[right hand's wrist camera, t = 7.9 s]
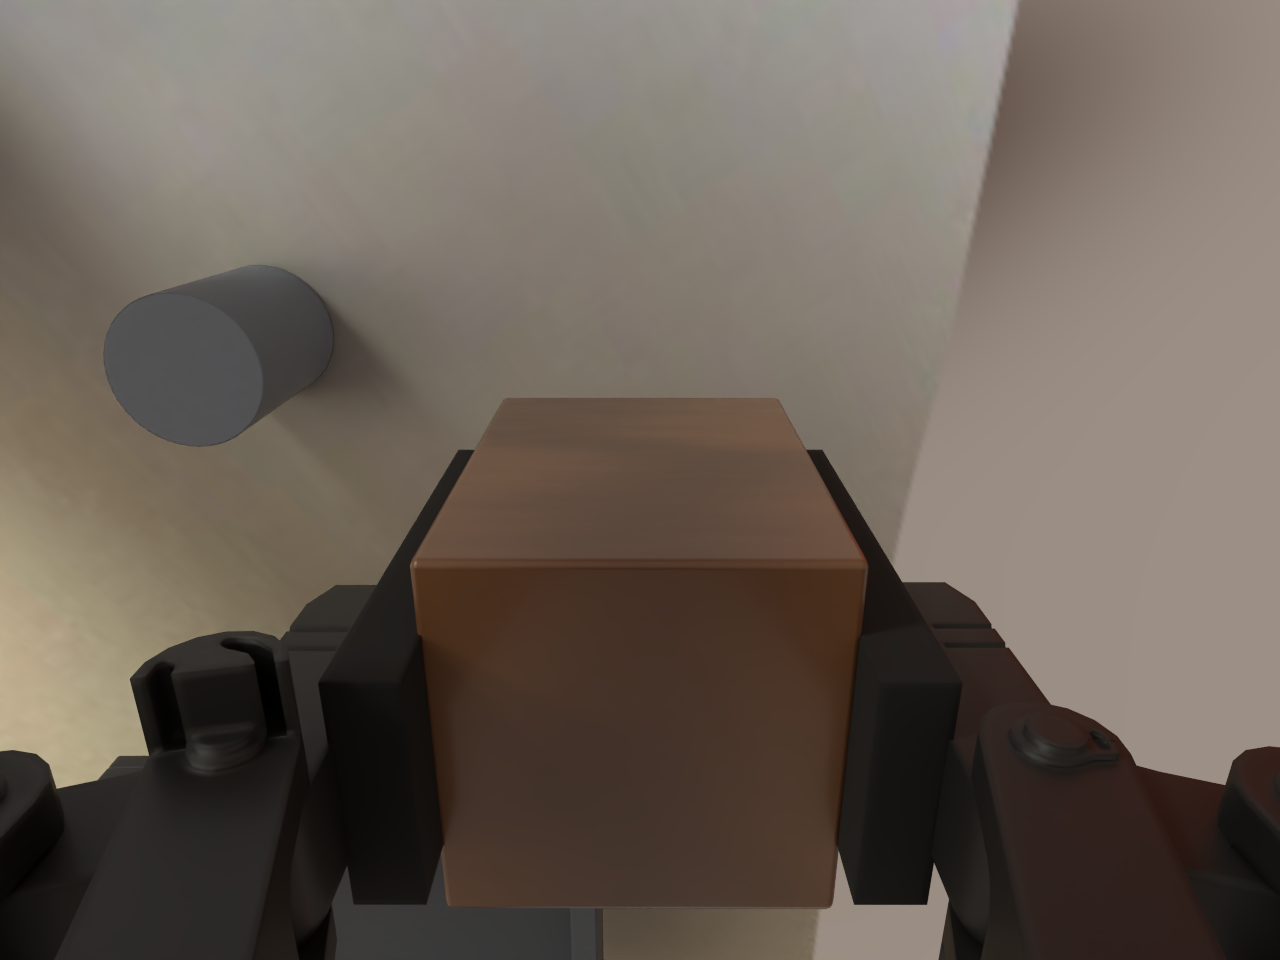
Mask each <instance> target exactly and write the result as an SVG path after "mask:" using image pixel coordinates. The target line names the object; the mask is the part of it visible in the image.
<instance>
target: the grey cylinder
mask: <svg viewBox="0 0 1280 960" xmlns="http://www.w3.org/2000/svg"><path fill="white" fill-rule="evenodd" d="M333 341H334V338H333V328H332V323H331V320H330V317H329V314H328V312H327V310H326V308H325V306H324V304H323V302H322V301H321V299H320V298H319V297H318V295H317V294H316V293H315V292H314V291H313V290H312V289H311V288H310V287H309V286H308V285H307V284H306V283H305V282H304V281H302V280H301V279H300V278H298V277H296V276H295V275H293V274H291V273H289V272H287V271H285V270H282V269H279V268H276V267H271V266H263V265H254V266H246V267H242V268H238V269H235V270H231V271H228V272H225V273H221V274H218V275H214V276H211V277H208V278H204V279H201V280H197V281H194V282H191V283H187V284H184V285H180V286H177V287H174V288H170V289H167V290H163V291H160V292H157V293H153V294H150V295H147V296H144V297H141V298H139V299H137V300H135V301H133V302H132V303H130V304H129V305H128V306H126V307H125V308H124V309H123V310H122V311H121V312H120V313H119V314H118V315H117V316H116V318H115V319H114V321H113V322H112V324H111V326H110V328H109V331H108V333H107V336H106V340H105V346H104V365H105V371H106V375H107V378H108V382H109V384H110V386H111V389H112V391H113V393H114V395H115V396H116V398H117V400H118V401H119V403H120V404H121V406H122V407H123V408H124V410H125V411H126V412H127V413H128V414H129V415H130V416H131V417H132V418H133V419H134V420H135V421H136V422H137V423H138V424H140V425H141V426H142V427H144V428H145V429H146V430H148V431H149V432H151V433H153V434H155V435H156V436H158V437H160V438H163V439H165V440H167V441H170V442H174V443H177V444H181V445H187V446H198V447H200V446H212V445H217V444H221V443H223V442H226V441H229V440H231V439H233V438H235V437H236V436H238V435H239V434H241V433H242V432H243V431H245V430H246V429H248V428H249V427H250V426H252V425H253V424H255V423H256V422H257V421H259V420H260V419H262V418H263V417H265V416H266V415H267V414H269V413H270V412H272V411H273V410H274V409H276V408H277V407H279V406H280V405H281V404H283V403H284V402H286V401H287V400H289V399H290V398H291V397H293V396H294V395H296V394H297V393H298V392H300V391H301V390H303V389H304V388H305V387H307V386H308V385H310V384H311V383H312V382H314V381H315V380H316V379H317V378H318V377H319V376H320V375H321V374H322V373H323V371H324V370H325V368H326V367H327V365H328V363H329V360H330V358H331V355H332V350H333Z"/></svg>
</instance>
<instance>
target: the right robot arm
mask: <svg viewBox="0 0 1280 960" xmlns="http://www.w3.org/2000/svg"><path fill="white" fill-rule="evenodd" d="M806 451H807V453H808V454H809V456H810V458H811V460H812V462H813V464H814V465H815V467H816V469H817V471H818V473H819V475H820V476H821V478H822V480H823V482H824V484H825V485H826V487H827V489H828V491H829V493H830V495H831V496H832V498H833V500H834V502H835V504H836V505H837V507H838V509H839V511H840V513H841V515H842V516H843V518H844V520H845V522H846V524H847V526H848V527H849V529H850V531H851V533H852V535H853V536H854V538H855V540H856V542H857V544H858V546H859V547H860V549H861V551H862V553H863V555H864V557H865V558H866V560H867V563H868V566H869V568H868V578H867V587H866V596H865V606H864V615H863V625H862V633H861V636H860V640H859V650H858V659H857V668H856V678H855V687H854V697H853V706H852V716H851V725H850V734H849V744H848V753H847V763H846V772H845V782H844V791H843V800H842V810H841V819H840V829H839V838H838V849H839V853H840V856H841V860H842V863H843V867H844V870H845V874H846V877H847V881H848V884H849V888H850V892H851V895H852V899H853V902H854V905H927V902H928V896H929V889H930V883H931V877H932V871H933V865H934V863H935V866H936V868H937V870H938V873H939V875H940V878H941V880H942V883H943V885H944V887H945V890H946V892H947V895H948V897H949V903H948V909H947V914H946V920H945V926H944V932H943V937H942V943H941V949H940V955H939V960H1280V747H1270V746H1268V747H1262V748H1257V749H1250V750H1245V751H1244V752H1243V753H1242V754H1241V755H1239V756H1238V757H1237V758H1236V759H1235V760H1233V763H1232V766H1231V769H1230V772H1229V776H1228V779H1227V782H1226V785H1221V784H1216V783H1211V782H1207V781H1202V780H1197V779H1192V778H1187V777H1182V776H1178V775H1173V774H1168V773H1163V772H1158V771H1155V770H1151V769H1147V768H1144V767H1140V766H1136V764H1135V762H1134V760H1133V758H1132V755H1131V754H1130V752H1129V751H1128V750H1127V748H1126V747H1125V746H1124V744H1123V743H1122V742H1121V741H1120V739H1119V738H1118V737H1117V736H1116V735H1115V734H1113V733H1112V732H1111V731H1109V730H1108V729H1106V728H1105V727H1103V726H1102V725H1101V724H1099V723H1098V722H1096V721H1095V720H1093V719H1091V718H1088V717H1086V716H1084V715H1081V714H1079V713H1077V712H1074V711H1072V710H1070V709H1067V708H1063V707H1058V706H1054V705H1051V704H1050V703H1049V701H1048V700H1047V699H1046V697H1045V696H1044V695H1043V693H1042V692H1041V691H1040V689H1039V688H1038V687H1037V685H1036V684H1035V683H1034V681H1033V680H1032V679H1031V677H1030V676H1029V674H1028V673H1027V672H1026V670H1025V669H1024V668H1023V666H1022V665H1021V664H1020V662H1019V661H1018V660H1017V658H1016V657H1015V655H1014V654H1013V653H1012V651H1011V650H1010V649H1009V648H1006V647H1005V642H1004V641H1003V639H1002V638H1001V637H1000V635H999V634H998V633H997V631H996V630H995V629H992V628H991V623H990V622H989V620H988V619H987V618H986V616H985V615H984V614H983V612H982V611H981V610H980V608H979V607H978V606H977V604H976V603H975V602H974V601H973V600H971V599H970V598H968V597H967V596H965V595H964V594H962V593H961V592H959V591H957V590H956V589H954V588H953V587H951V586H950V585H948V584H947V583H945V582H902V581H901V580H900V578H899V576H898V575H897V573H896V571H895V570H894V568H893V566H892V565H891V563H890V561H889V560H888V558H887V556H886V555H885V553H884V551H883V550H882V548H881V546H880V545H879V543H878V541H877V540H876V538H875V536H874V535H873V533H872V532H871V530H870V528H869V527H868V525H867V523H866V522H865V520H864V518H863V517H862V515H861V513H860V512H859V510H858V508H857V507H856V505H855V503H854V502H853V500H852V498H851V497H850V495H849V493H848V492H847V490H846V488H845V487H844V485H843V484H842V482H841V480H840V479H839V477H838V475H837V474H836V472H835V470H834V469H833V467H832V465H831V464H830V462H829V460H828V459H827V457H826V455H825V454H824V452H823V450H806ZM473 452H474V450H458V452H457V453H456V455H455V457H454V458H453V460H452V462H451V463H450V465H449V467H448V468H447V470H446V472H445V473H444V475H443V477H442V478H441V480H440V482H439V483H438V485H437V487H436V488H435V490H434V492H433V493H432V495H431V496H430V498H429V500H428V501H427V503H426V505H425V506H424V508H423V510H422V511H421V513H420V515H419V516H418V518H417V520H416V521H415V523H414V525H413V526H412V528H411V530H410V531H409V533H408V535H407V536H406V538H405V540H404V541H403V543H402V544H401V546H400V548H399V549H398V551H397V553H396V554H395V556H394V558H393V559H392V561H391V563H390V564H389V566H388V568H387V569H386V571H385V573H384V574H383V576H382V578H381V579H380V581H379V583H378V584H377V585H336V586H334V587H333V588H331V589H330V590H328V591H327V592H325V593H324V594H322V595H320V596H319V597H317V598H316V599H314V600H313V601H311V602H310V603H308V604H307V605H306V606H305V607H304V609H303V610H302V611H301V613H300V614H299V615H298V617H297V618H296V620H295V621H294V622H293V624H292V625H291V626H290V632H286V633H285V635H284V636H283V637H282V639H281V640H279V639H277V638H276V637H275V636H271V635H267V634H263V633H259V632H255V631H234V632H222V633H217V634H212V635H207V636H202V637H197V638H194V639H192V640H189V641H186V642H183V643H181V644H178V645H175V646H173V647H170V648H168V649H166V650H165V651H163V652H161V653H160V654H158V655H156V656H155V657H153V658H151V659H150V660H148V661H146V662H145V663H144V664H143V665H142V666H141V667H140V668H139V669H138V670H137V672H136V673H135V674H134V675H133V676H132V677H131V678H130V682H131V685H132V689H133V693H134V697H135V701H136V705H137V709H138V713H139V717H140V721H141V725H142V729H143V733H144V736H145V740H146V744H147V748H148V752H149V757H148V759H147V761H146V763H145V765H144V768H143V770H140V771H136V772H133V773H129V774H125V775H121V776H117V777H112V778H107V779H102V780H97V781H92V782H88V783H83V784H78V785H73V786H68V787H63V788H59V789H56V786H55V782H54V779H53V776H52V773H51V769H50V766H49V764H48V763H46V762H45V761H44V760H43V759H42V758H40V757H39V756H38V755H37V754H33V753H27V752H21V751H15V750H10V751H1V752H0V960H335V954H336V946H337V935H336V927H335V920H334V914H333V909H332V901H333V899H334V896H335V894H336V891H337V889H338V886H339V884H340V882H341V879H342V877H343V874H344V872H345V869H346V867H348V873H349V879H350V885H351V891H352V898H353V904H354V905H427V901H428V898H429V894H430V891H431V887H432V884H433V880H434V876H435V873H436V869H437V866H438V862H439V859H440V855H441V852H442V848H443V839H442V829H441V820H440V810H439V801H438V791H437V782H436V772H435V763H434V753H433V744H432V734H431V725H430V716H429V706H428V697H427V687H426V678H425V668H424V659H423V649H422V640H421V636H420V635H418V633H417V626H416V617H415V607H414V598H413V589H412V579H411V570H410V564H411V561H412V559H413V557H414V555H415V554H416V552H417V550H418V548H419V547H420V545H421V543H422V541H423V540H424V538H425V536H426V534H427V533H428V531H429V529H430V527H431V526H432V524H433V522H434V520H435V519H436V517H437V515H438V513H439V512H440V510H441V508H442V506H443V505H444V503H445V501H446V499H447V498H448V496H449V494H450V492H451V491H452V489H453V487H454V485H455V484H456V482H457V480H458V478H459V477H460V475H461V473H462V471H463V470H464V468H465V466H466V464H467V463H468V461H469V459H470V457H471V456H472V454H473Z"/></svg>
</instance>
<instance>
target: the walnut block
mask: <svg viewBox="0 0 1280 960" xmlns="http://www.w3.org/2000/svg"><path fill="white" fill-rule="evenodd" d="M868 568H869V566H868V563H867V560H866V558H865V557H864V555H863V553H862V551H861V549H860V547H859V546H858V544H857V542H856V540H855V538H854V536H853V535H852V533H851V531H850V529H849V527H848V526H847V524H846V522H845V520H844V518H843V516H842V515H841V513H840V511H839V509H838V507H837V505H836V504H835V502H834V500H833V498H832V496H831V495H830V493H829V491H828V489H827V487H826V485H825V484H824V482H823V480H822V478H821V476H820V475H819V473H818V471H817V469H816V467H815V465H814V464H813V462H812V460H811V458H810V456H809V454H808V453H807V451H806V449H805V447H804V445H803V444H802V442H801V440H800V438H799V436H798V434H797V433H796V431H795V429H794V427H793V425H792V423H791V422H790V420H789V418H788V416H787V414H786V413H785V411H784V409H783V407H782V405H781V403H780V402H779V400H777V399H775V398H507V399H504V400H503V401H502V403H501V405H500V407H499V408H498V410H497V412H496V414H495V415H494V417H493V419H492V421H491V422H490V424H489V426H488V428H487V429H486V431H485V433H484V435H483V436H482V438H481V440H480V442H479V443H478V445H477V447H476V449H475V450H474V452H473V454H472V456H471V457H470V459H469V461H468V463H467V464H466V466H465V468H464V470H463V471H462V473H461V475H460V477H459V478H458V480H457V482H456V484H455V485H454V487H453V489H452V491H451V492H450V494H449V496H448V498H447V499H446V501H445V503H444V505H443V506H442V508H441V510H440V512H439V513H438V515H437V517H436V519H435V520H434V522H433V524H432V526H431V527H430V529H429V531H428V533H427V534H426V536H425V538H424V540H423V541H422V543H421V545H420V547H419V548H418V550H417V552H416V554H415V555H414V557H413V559H412V561H411V564H410V570H411V579H412V589H413V598H414V607H415V617H416V626H417V633H418V635H420V636H421V640H422V649H423V659H424V668H425V678H426V687H427V697H428V706H429V716H430V725H431V734H432V744H433V753H434V763H435V772H436V782H437V791H438V801H439V810H440V820H441V829H442V839H443V848H442V852H441V858H442V867H443V877H444V886H445V895H446V901H447V904H448V906H450V907H453V908H695V909H827V908H830V907H831V905H832V903H833V897H834V888H835V878H836V869H837V860H838V850H839V849H838V838H839V829H840V819H841V810H842V800H843V791H844V782H845V772H846V763H847V753H848V744H849V734H850V725H851V716H852V706H853V697H854V687H855V678H856V668H857V659H858V650H859V640H860V636H861V633H862V625H863V615H864V606H865V596H866V587H867V578H868Z"/></svg>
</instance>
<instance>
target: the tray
mask: <svg viewBox="0 0 1280 960" xmlns="http://www.w3.org/2000/svg"><path fill="white" fill-rule="evenodd" d="M148 757H149V756H119V757H117V759H116V760H115V761H114V762H113V763H112V764H111V766H110V767H109V768H108V769H107V770H106V771H105V772H104V773H103V775H102V776H101V777H100V778H99V779H98V780H102V779H107V778H112V777H117V776H121V775H125V774H129V773H133V772H136V771H140V770H143V768H144V765H145V763H146V761H147V759H148ZM332 909H333V914H334V920H335V927H336V935H337V946H336V954H335V960H603V911H602V908H453V907H450V906H448V904H447V901H446V895H445V886H444V877H443V867H442V858H441V855H440V859H439V862H438V866H437V869H436V873H435V876H434V880H433V884H432V887H431V891H430V894H429V898H428V901H427V905H354V904H353V898H352V891H351V885H350V879H349V873H348V867H346V869H345V872H344V874H343V877H342V879H341V882H340V884H339V886H338V889H337V891H336V894H335V896H334V899H333V901H332Z"/></svg>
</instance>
